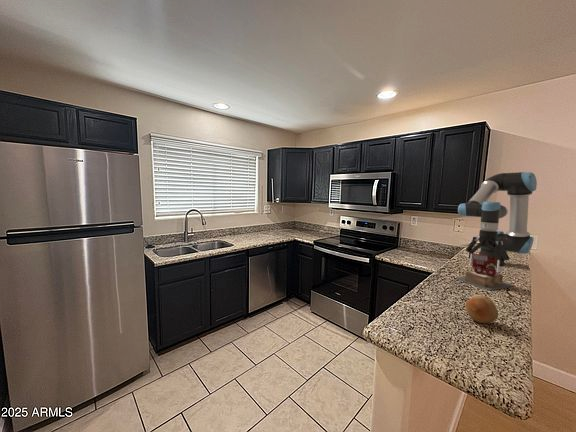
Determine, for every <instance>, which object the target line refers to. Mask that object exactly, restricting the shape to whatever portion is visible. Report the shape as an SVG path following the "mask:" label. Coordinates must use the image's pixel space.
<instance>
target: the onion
mask: <svg viewBox="0 0 576 432" xmlns="http://www.w3.org/2000/svg"><path fill="white" fill-rule="evenodd" d="M464 305H465V311H466V313H467V314H468V316H469V318H471V319H472V320H474V321H475V322H477V323H480V324H488V323H489V324H491V323H493V322H494V321H496V320H497V319H498V317H499V311H498V308H497V306H496V304H495V303H494V302H493V300H492V299H490V298H488V297H487V296H484V295H476V296H472V297H471V298H469V299H468V300H467V301H466V302H465V304H464Z"/></svg>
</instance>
